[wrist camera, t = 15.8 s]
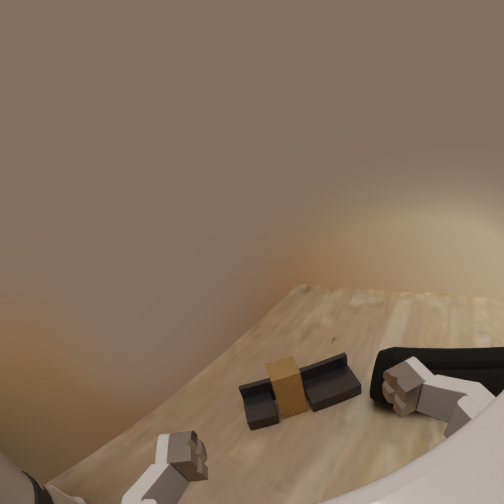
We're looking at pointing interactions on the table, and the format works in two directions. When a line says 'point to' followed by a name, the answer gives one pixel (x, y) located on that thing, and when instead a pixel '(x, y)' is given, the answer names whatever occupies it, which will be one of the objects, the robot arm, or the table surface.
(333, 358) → the rail
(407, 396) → the robot arm
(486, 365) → the portable speaker
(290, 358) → the wooden block
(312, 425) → the table surface
